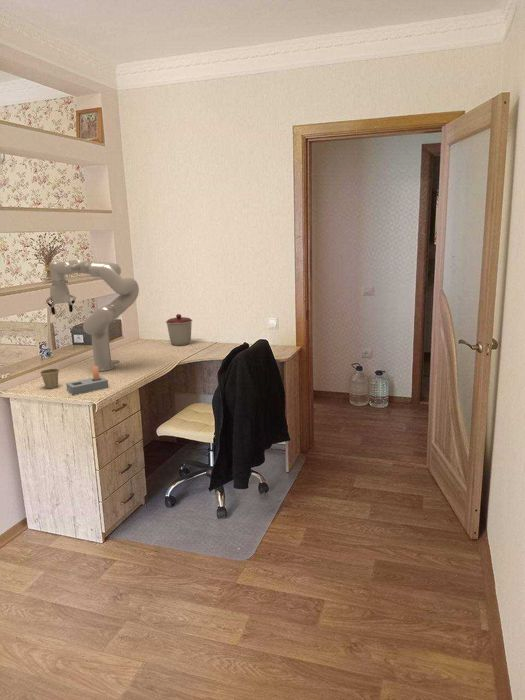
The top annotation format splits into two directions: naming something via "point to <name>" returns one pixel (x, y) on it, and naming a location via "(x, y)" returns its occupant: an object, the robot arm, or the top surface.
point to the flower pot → (50, 377)
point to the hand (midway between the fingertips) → (62, 313)
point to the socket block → (86, 385)
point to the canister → (179, 330)
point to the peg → (95, 373)
